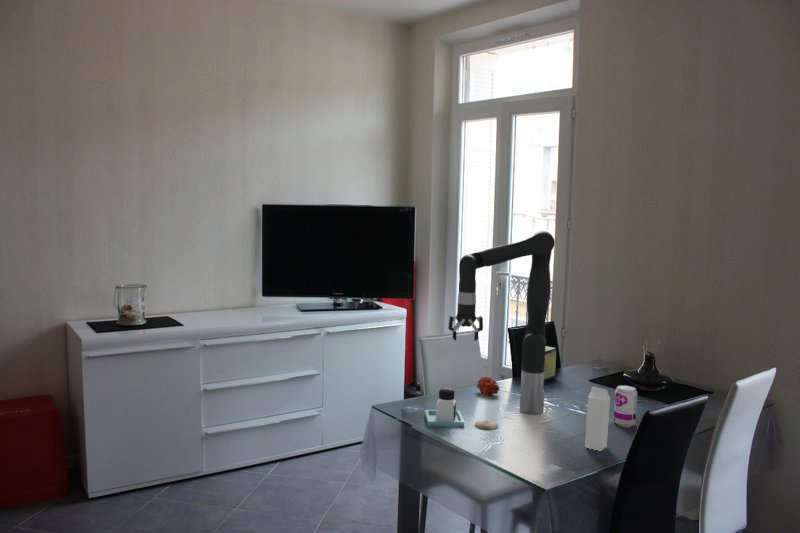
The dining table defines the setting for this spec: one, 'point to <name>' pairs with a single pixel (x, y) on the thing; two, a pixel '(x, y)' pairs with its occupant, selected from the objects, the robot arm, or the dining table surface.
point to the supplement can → (625, 405)
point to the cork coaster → (486, 425)
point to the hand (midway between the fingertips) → (465, 340)
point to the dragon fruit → (487, 386)
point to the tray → (433, 423)
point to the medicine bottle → (446, 406)
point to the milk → (597, 419)
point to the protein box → (549, 363)
